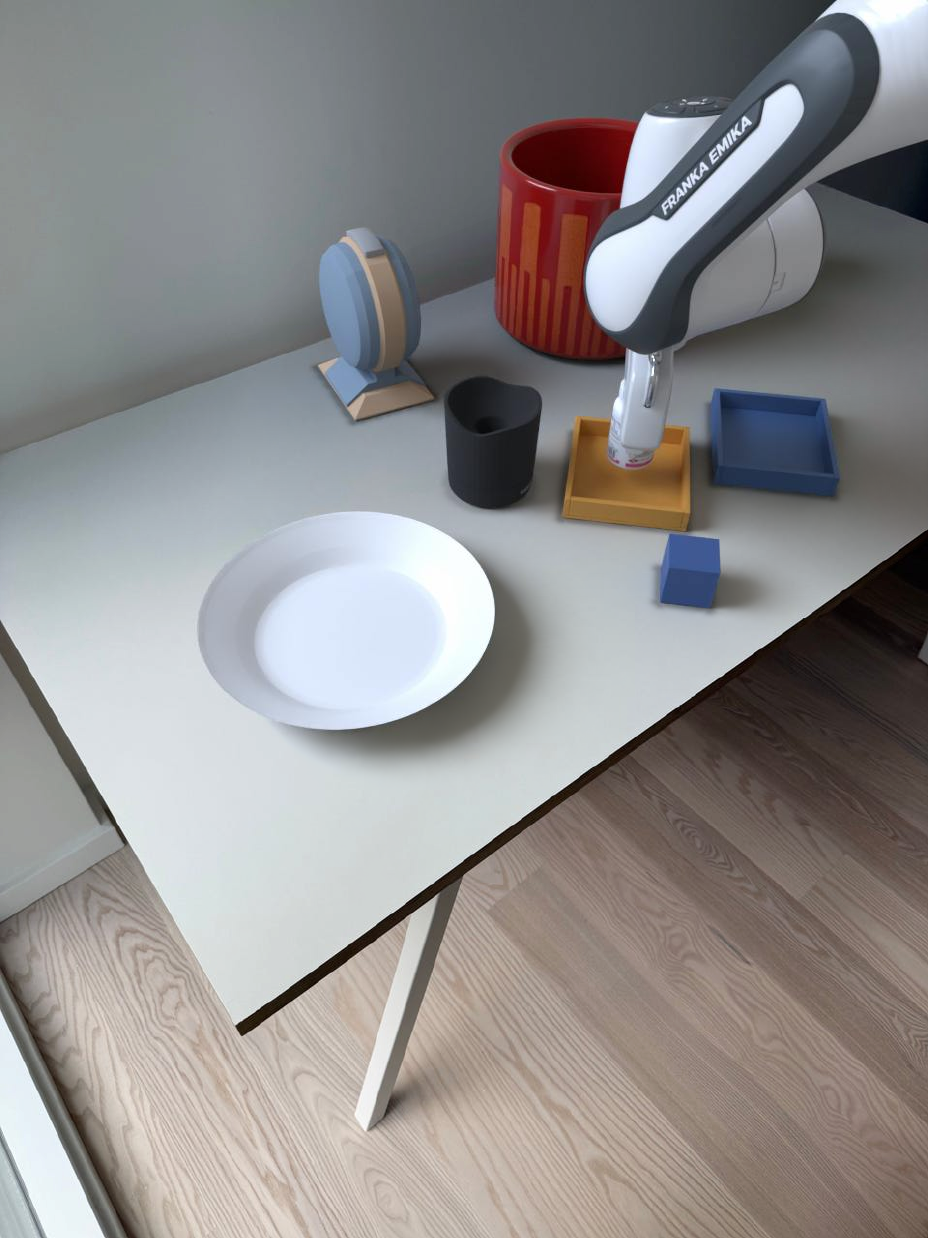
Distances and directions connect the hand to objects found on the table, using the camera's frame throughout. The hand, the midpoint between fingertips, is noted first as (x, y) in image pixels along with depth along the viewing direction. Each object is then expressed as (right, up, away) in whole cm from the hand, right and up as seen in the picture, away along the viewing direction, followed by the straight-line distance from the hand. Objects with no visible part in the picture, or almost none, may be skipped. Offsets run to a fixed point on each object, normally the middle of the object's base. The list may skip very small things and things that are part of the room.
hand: (634, 431), depth 89 cm
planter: (-2, +20, +27) cm, 33 cm away
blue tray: (+16, 0, +8) cm, 18 cm away
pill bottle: (0, -2, +2) cm, 3 cm away
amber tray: (0, -4, +5) cm, 6 cm away
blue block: (+4, -16, -6) cm, 17 cm away
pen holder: (-14, -5, +4) cm, 16 cm away
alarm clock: (-27, +9, +17) cm, 33 cm away
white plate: (-27, -20, -10) cm, 35 cm away
